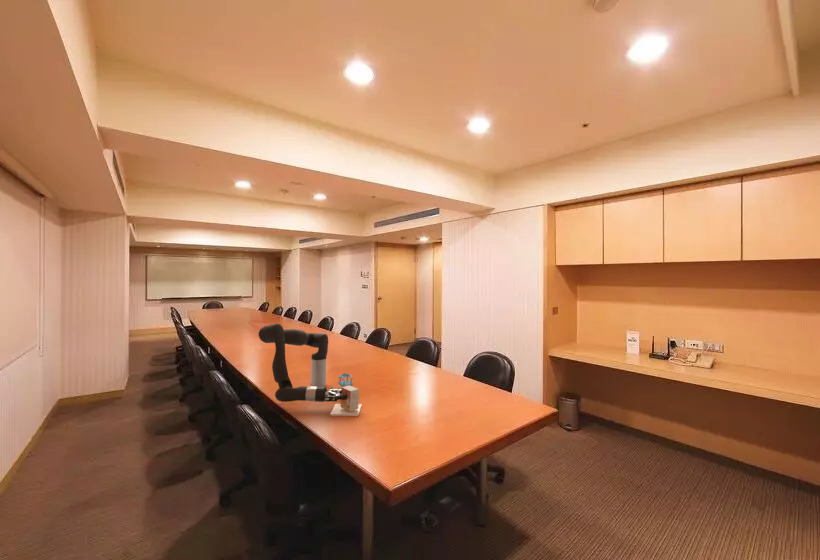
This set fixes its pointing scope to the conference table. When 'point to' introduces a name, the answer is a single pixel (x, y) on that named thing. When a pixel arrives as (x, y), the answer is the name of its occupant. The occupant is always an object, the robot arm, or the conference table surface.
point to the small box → (350, 398)
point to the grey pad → (344, 411)
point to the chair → (345, 383)
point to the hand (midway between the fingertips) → (348, 394)
